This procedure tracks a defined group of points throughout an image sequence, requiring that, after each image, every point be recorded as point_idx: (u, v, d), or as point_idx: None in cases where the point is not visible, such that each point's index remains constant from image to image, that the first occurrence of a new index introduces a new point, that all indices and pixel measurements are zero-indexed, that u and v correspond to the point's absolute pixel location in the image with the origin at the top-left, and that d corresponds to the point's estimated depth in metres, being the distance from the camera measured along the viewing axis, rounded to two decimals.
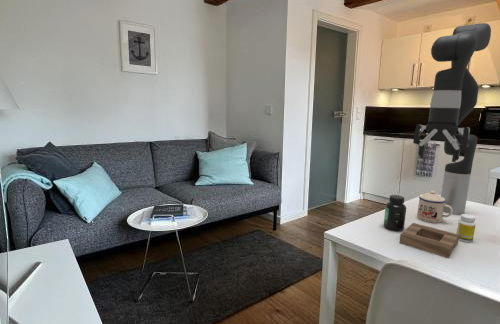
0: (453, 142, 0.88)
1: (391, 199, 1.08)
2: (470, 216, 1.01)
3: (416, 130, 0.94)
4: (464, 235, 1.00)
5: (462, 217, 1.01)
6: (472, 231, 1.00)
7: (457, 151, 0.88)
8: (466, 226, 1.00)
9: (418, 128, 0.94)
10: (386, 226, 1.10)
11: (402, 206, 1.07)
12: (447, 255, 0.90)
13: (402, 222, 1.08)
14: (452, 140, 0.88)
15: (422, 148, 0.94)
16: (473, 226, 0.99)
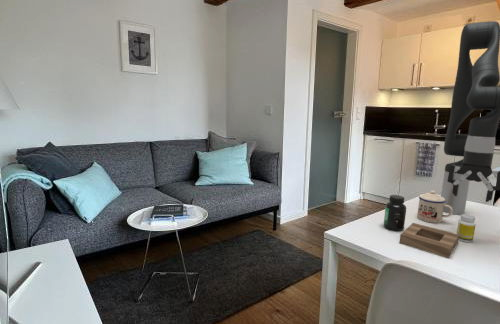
0: (487, 184, 0.95)
1: (391, 199, 1.08)
2: (470, 216, 1.01)
3: (450, 170, 1.02)
4: (463, 235, 1.00)
5: (462, 217, 1.01)
6: (472, 231, 1.00)
7: (491, 192, 0.95)
8: (466, 226, 1.00)
9: (452, 168, 1.01)
10: (386, 226, 1.10)
11: (402, 206, 1.07)
12: (447, 255, 0.90)
13: (402, 222, 1.08)
14: (486, 182, 0.95)
15: (456, 187, 1.01)
16: (473, 226, 0.99)
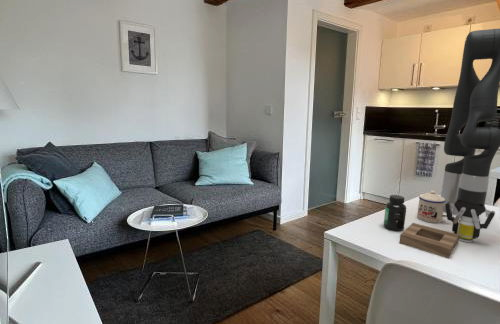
0: (476, 222, 0.98)
1: (391, 199, 1.08)
2: None
3: (446, 208, 1.04)
4: (464, 235, 1.00)
5: (462, 217, 1.01)
6: (472, 231, 1.00)
7: (478, 230, 0.99)
8: (466, 226, 1.00)
9: (448, 206, 1.04)
10: (386, 226, 1.10)
11: (402, 206, 1.07)
12: (447, 255, 0.90)
13: (402, 222, 1.08)
14: (476, 220, 0.98)
15: (456, 225, 1.03)
16: (473, 226, 0.99)
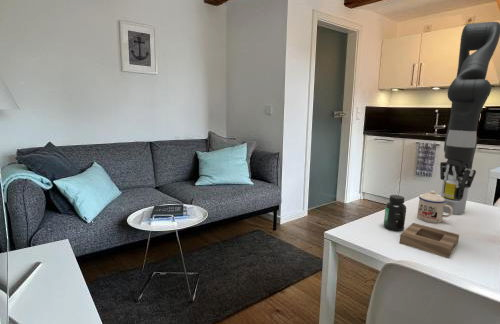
0: (456, 180, 0.94)
1: (391, 199, 1.08)
2: None
3: (440, 167, 1.02)
4: (445, 193, 0.98)
5: None
6: (453, 190, 0.95)
7: (458, 189, 0.94)
8: (447, 184, 0.97)
9: (441, 165, 1.02)
10: (386, 226, 1.10)
11: (402, 206, 1.07)
12: (447, 255, 0.90)
13: (402, 222, 1.08)
14: (455, 178, 0.94)
15: (445, 185, 1.00)
16: (454, 185, 0.95)
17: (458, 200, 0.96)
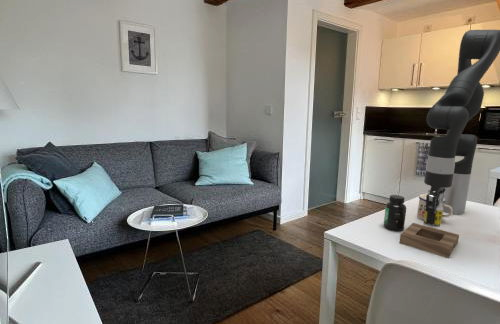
0: None
1: (391, 199, 1.08)
2: None
3: None
4: (424, 217, 0.99)
5: None
6: None
7: None
8: None
9: None
10: (386, 226, 1.10)
11: (402, 206, 1.07)
12: (447, 255, 0.90)
13: (402, 222, 1.08)
14: None
15: None
16: None
17: (432, 225, 0.96)
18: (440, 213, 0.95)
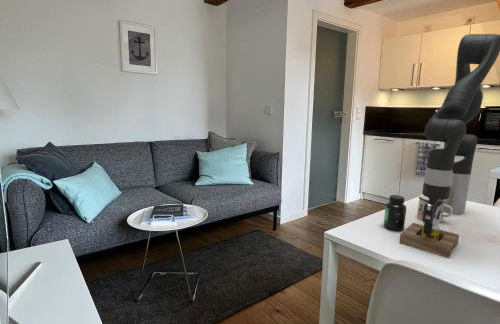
0: None
1: (391, 199, 1.08)
2: None
3: None
4: (421, 234, 1.01)
5: None
6: None
7: (425, 224, 0.95)
8: None
9: None
10: (386, 226, 1.10)
11: (402, 206, 1.07)
12: (447, 255, 0.90)
13: (402, 222, 1.08)
14: None
15: None
16: None
17: None
18: (437, 232, 0.96)
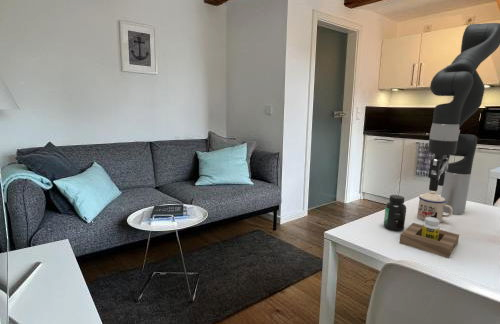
0: None
1: (391, 199, 1.08)
2: (432, 219, 0.97)
3: None
4: (421, 234, 1.01)
5: None
6: (424, 232, 0.98)
7: (431, 180, 0.93)
8: None
9: None
10: (386, 226, 1.10)
11: (402, 206, 1.07)
12: (447, 255, 0.90)
13: (402, 222, 1.08)
14: None
15: None
16: (425, 227, 0.98)
17: None
18: (437, 232, 0.96)
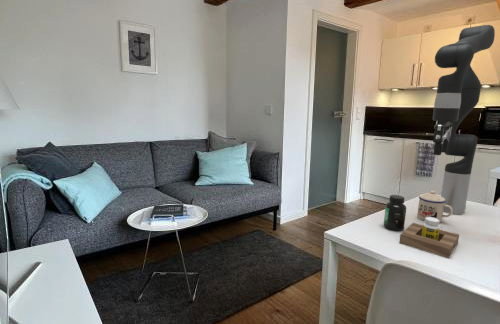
0: None
1: (391, 199, 1.08)
2: (432, 219, 0.97)
3: None
4: (421, 234, 1.01)
5: None
6: (424, 232, 0.98)
7: None
8: None
9: None
10: (386, 226, 1.10)
11: (402, 206, 1.07)
12: (447, 255, 0.90)
13: (402, 222, 1.08)
14: None
15: None
16: (425, 227, 0.98)
17: None
18: (437, 232, 0.96)
